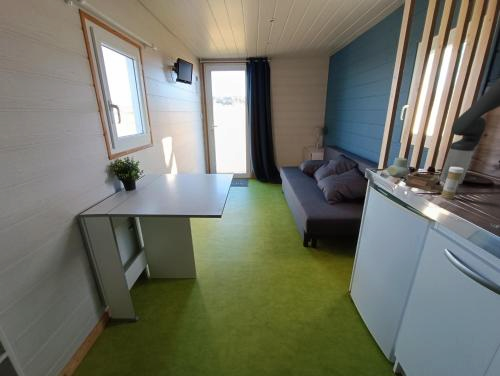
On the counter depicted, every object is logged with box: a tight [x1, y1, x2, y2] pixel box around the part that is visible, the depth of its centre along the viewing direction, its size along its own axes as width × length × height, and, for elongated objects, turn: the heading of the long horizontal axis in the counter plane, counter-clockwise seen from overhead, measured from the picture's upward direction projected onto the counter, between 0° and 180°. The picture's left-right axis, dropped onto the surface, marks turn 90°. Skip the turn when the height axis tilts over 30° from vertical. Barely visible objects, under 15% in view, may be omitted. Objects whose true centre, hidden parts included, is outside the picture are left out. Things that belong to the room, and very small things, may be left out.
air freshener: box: [386, 157, 411, 178], centre depth 129 cm, size 11×8×10 cm
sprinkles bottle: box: [440, 167, 464, 200], centre depth 98 cm, size 5×5×13 cm
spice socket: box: [404, 171, 444, 194], centre depth 112 cm, size 12×13×5 cm
